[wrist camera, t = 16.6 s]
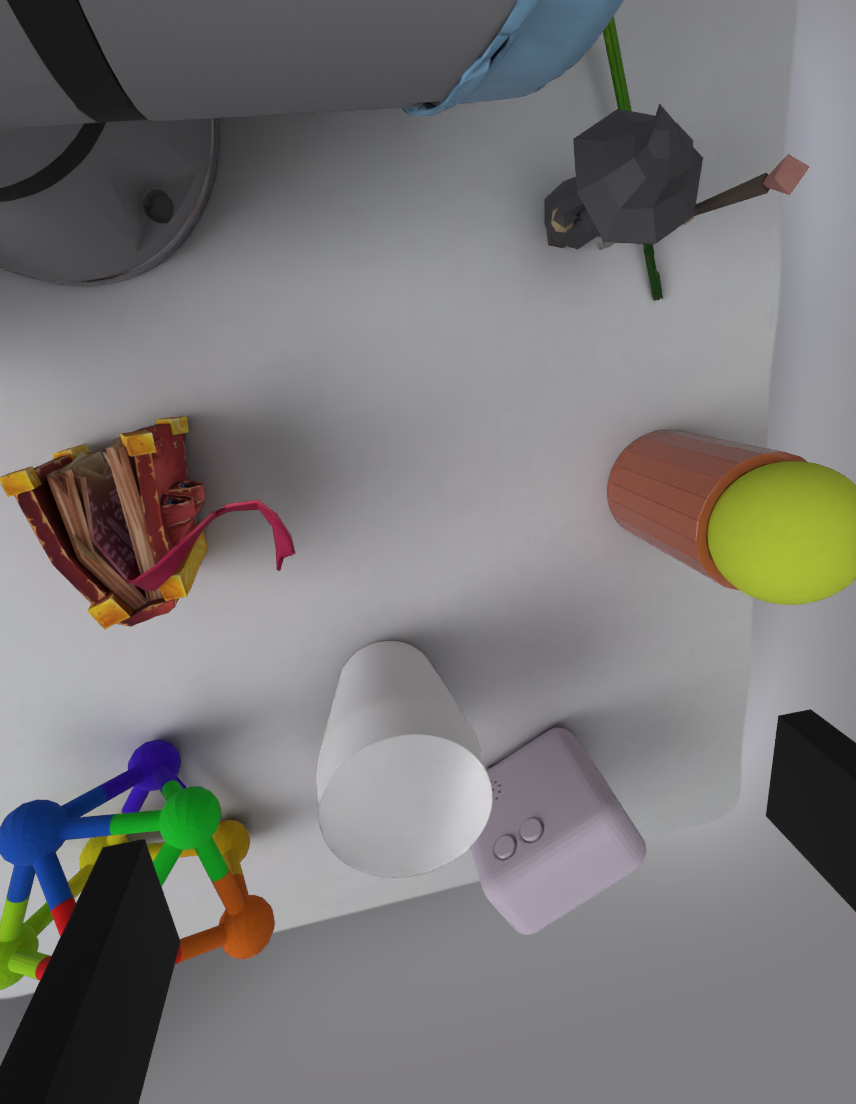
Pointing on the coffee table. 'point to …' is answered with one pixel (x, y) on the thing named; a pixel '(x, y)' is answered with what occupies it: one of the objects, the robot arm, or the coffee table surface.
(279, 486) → the coffee table surface
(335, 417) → the coffee table surface
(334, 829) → the cup
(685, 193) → the wizard figurine
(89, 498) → the book monster
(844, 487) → the ball
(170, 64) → the robot arm
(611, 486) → the terracotta cup
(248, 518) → the coffee table surface
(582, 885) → the electronic device
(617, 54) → the flower
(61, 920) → the educational toy
